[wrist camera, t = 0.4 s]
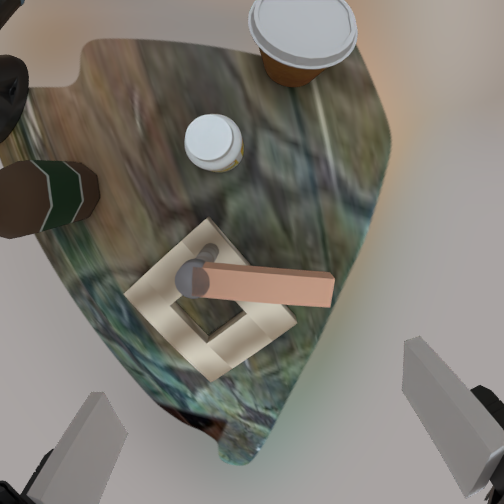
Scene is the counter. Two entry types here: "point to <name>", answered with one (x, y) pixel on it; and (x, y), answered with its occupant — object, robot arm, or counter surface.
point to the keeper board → (182, 325)
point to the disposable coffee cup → (301, 37)
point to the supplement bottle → (214, 143)
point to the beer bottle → (44, 196)
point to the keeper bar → (254, 283)
